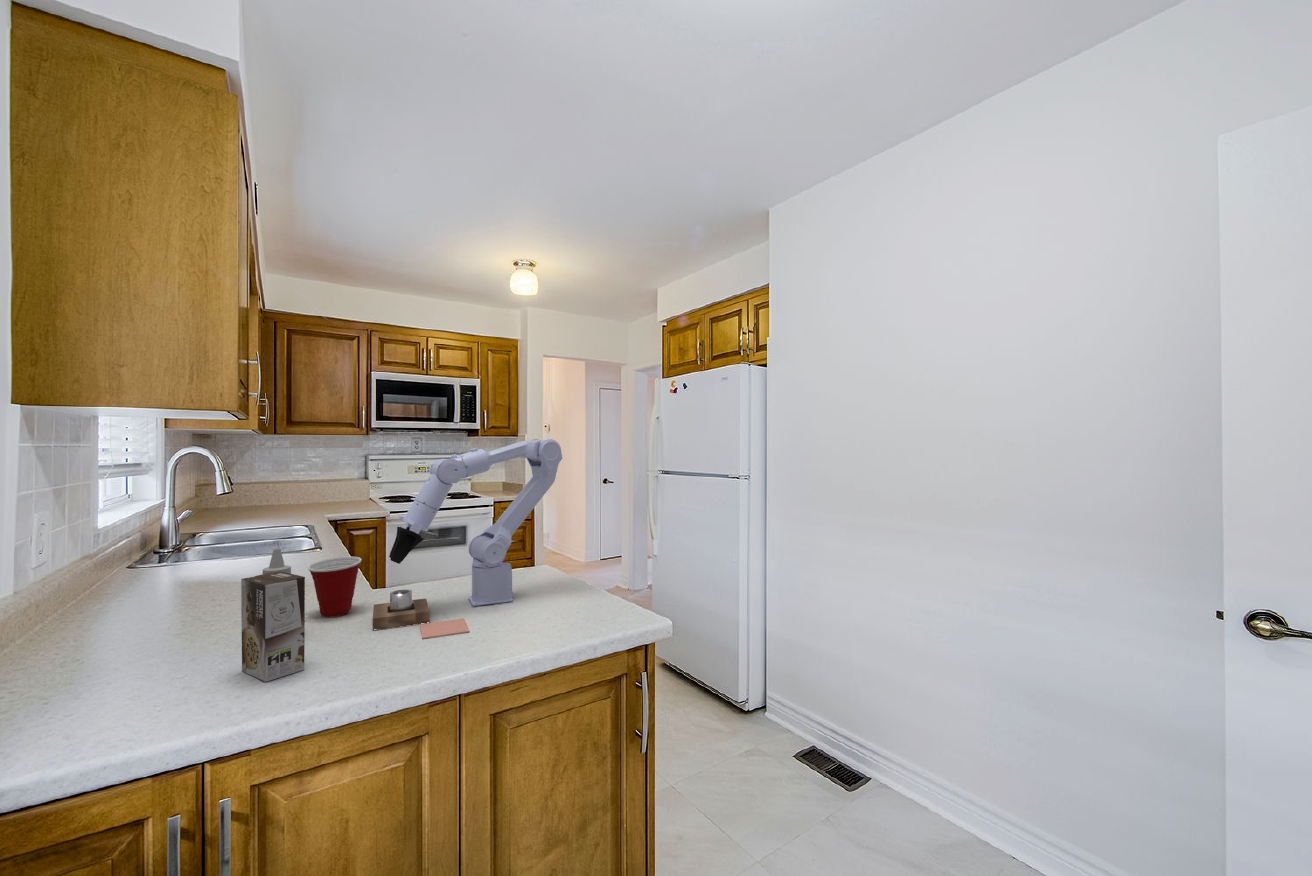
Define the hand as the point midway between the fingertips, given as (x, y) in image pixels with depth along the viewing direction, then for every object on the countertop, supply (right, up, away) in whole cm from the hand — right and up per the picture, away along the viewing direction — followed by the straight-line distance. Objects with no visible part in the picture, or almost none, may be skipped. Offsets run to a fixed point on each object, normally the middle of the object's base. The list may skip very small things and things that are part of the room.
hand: (394, 560), depth 123 cm
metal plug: (+2, -13, -1) cm, 13 cm away
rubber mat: (+14, -13, -7) cm, 20 cm away
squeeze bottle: (-17, -13, -14) cm, 25 cm away
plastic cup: (-15, -13, +3) cm, 20 cm away
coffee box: (-8, -13, -28) cm, 32 cm away
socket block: (+2, -13, -1) cm, 13 cm away
